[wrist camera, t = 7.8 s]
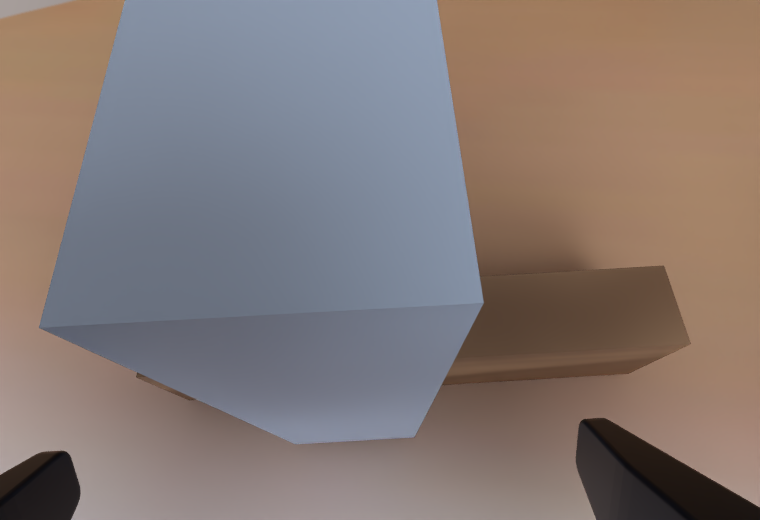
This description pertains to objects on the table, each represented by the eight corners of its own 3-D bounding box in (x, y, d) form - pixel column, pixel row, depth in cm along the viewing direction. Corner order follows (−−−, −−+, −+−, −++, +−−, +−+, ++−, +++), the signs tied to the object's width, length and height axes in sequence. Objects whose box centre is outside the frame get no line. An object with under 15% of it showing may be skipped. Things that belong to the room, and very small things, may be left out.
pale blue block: (414, 437, 16) (484, 302, 4) (295, 444, 16) (39, 328, 4) (401, 274, 19) (423, -90, 7) (298, 280, 19) (145, -75, 7)
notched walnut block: (628, 373, 17) (690, 343, 14) (189, 400, 17) (136, 377, 14) (610, 309, 19) (663, 265, 15) (196, 333, 18) (149, 295, 15)
